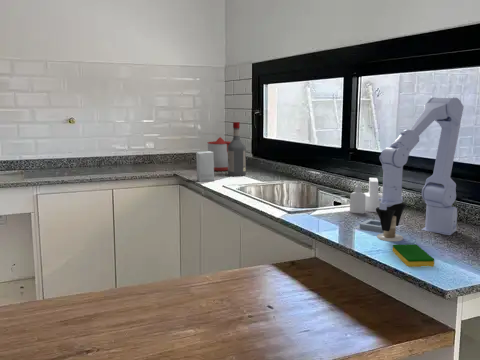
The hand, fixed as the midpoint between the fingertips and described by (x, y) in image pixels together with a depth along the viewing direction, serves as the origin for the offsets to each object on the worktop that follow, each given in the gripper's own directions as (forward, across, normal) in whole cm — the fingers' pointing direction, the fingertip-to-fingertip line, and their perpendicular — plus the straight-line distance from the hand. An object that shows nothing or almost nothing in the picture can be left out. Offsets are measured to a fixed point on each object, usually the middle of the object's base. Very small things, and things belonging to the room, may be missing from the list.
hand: (390, 228), depth 160 cm
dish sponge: (+4, +14, +12) cm, 19 cm away
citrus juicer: (+4, -84, -137) cm, 160 cm away
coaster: (+4, 0, 0) cm, 4 cm away
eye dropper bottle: (+4, -26, -23) cm, 35 cm away
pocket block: (+4, -9, -8) cm, 13 cm away
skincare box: (+4, -49, -120) cm, 130 cm away
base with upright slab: (+4, -36, -21) cm, 42 cm away
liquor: (+4, -72, -117) cm, 138 cm away
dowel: (+3, 0, 0) cm, 3 cm away
